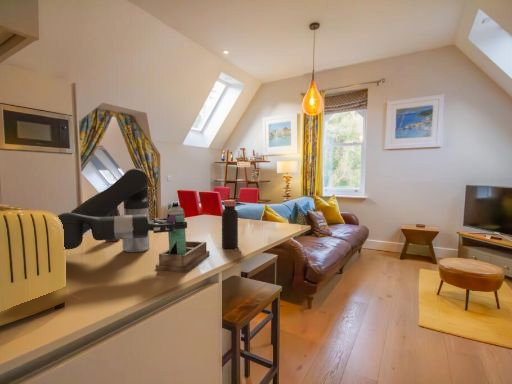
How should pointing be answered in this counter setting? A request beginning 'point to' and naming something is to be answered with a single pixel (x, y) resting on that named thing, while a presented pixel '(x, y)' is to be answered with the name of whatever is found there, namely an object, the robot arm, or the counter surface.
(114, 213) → the sauce bottle
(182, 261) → the rack
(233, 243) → the vinegar
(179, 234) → the spray can
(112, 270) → the counter surface
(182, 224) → the robot arm
